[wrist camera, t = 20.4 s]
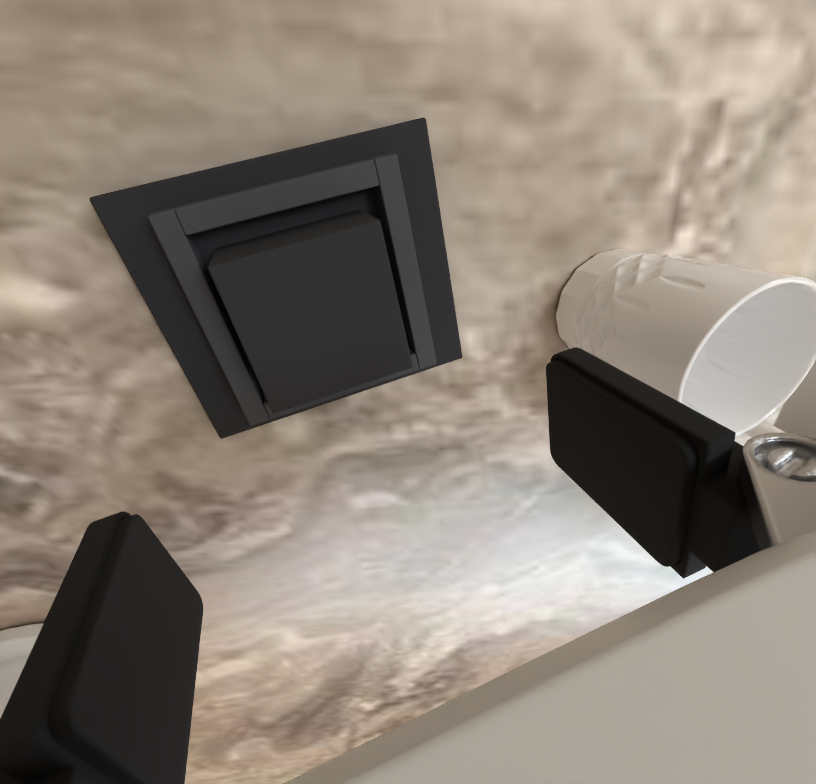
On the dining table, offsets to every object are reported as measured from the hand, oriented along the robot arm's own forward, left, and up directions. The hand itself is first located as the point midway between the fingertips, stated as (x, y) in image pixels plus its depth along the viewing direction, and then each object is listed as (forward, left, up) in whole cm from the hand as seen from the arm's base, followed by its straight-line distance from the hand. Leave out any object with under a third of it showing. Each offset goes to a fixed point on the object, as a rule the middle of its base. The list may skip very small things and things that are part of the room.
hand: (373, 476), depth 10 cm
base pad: (0, +1, -14) cm, 14 cm away
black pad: (0, 0, -13) cm, 13 cm away
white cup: (+17, -5, -15) cm, 23 cm away
